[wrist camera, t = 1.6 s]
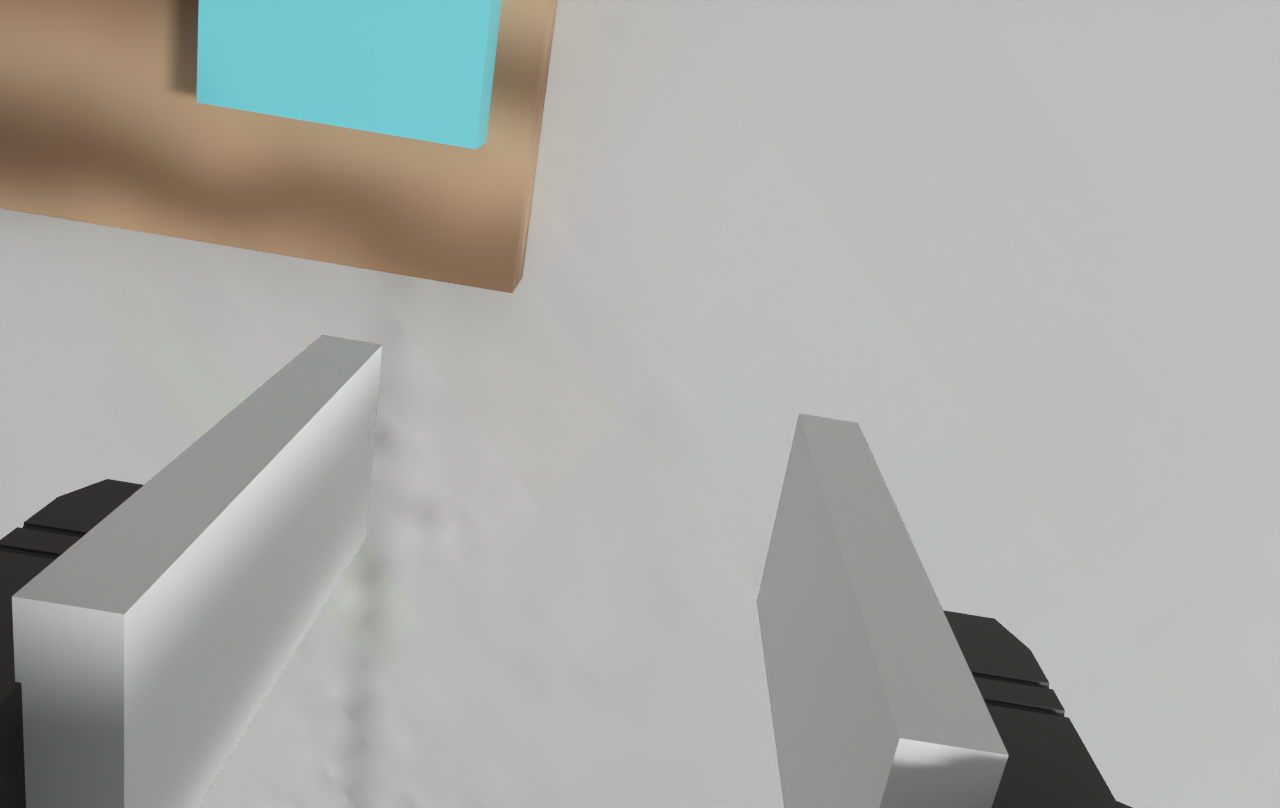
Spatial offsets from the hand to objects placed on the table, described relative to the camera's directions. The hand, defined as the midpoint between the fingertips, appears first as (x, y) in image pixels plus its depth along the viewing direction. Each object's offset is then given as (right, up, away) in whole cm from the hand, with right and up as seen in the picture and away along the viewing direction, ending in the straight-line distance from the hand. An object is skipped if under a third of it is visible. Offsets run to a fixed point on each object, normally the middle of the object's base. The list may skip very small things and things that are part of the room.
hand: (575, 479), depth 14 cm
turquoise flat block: (-8, +13, +21) cm, 27 cm away
